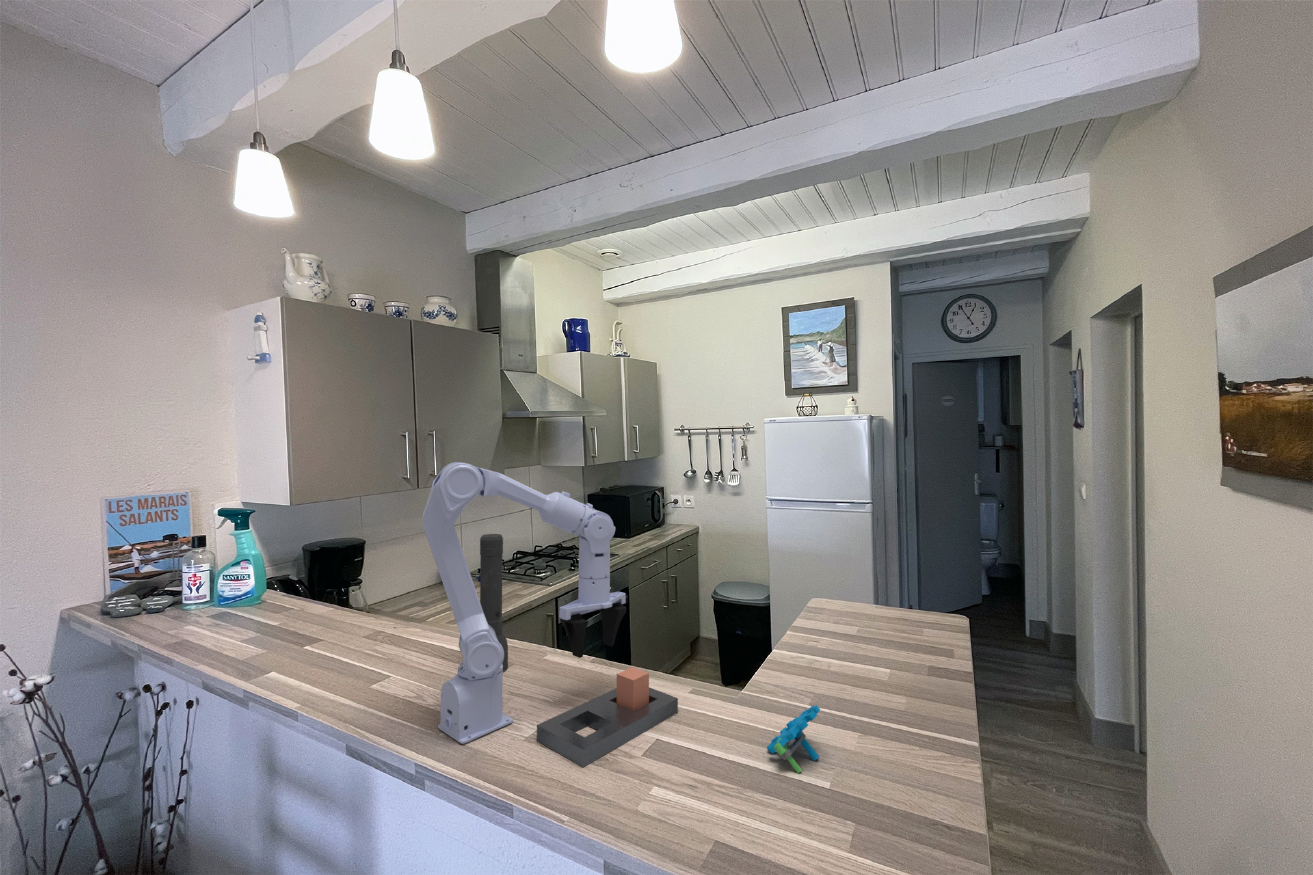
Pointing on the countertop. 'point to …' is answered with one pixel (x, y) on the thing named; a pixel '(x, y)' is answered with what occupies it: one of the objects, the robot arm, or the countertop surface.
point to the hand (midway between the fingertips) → (593, 650)
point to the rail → (603, 725)
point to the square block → (633, 688)
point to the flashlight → (492, 586)
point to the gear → (795, 737)
